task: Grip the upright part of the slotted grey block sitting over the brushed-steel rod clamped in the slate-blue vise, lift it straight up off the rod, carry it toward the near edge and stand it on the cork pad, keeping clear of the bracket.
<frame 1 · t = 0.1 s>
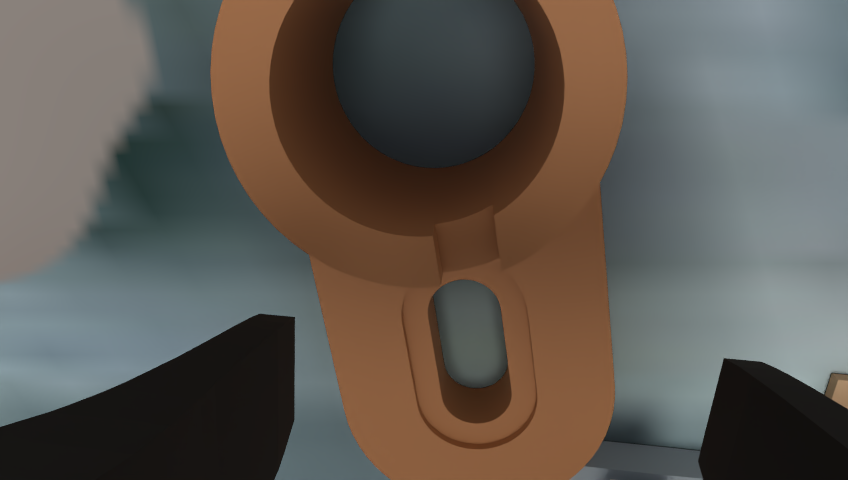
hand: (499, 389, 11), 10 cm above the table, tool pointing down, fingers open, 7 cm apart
bracket: (456, 219, 21), on the table
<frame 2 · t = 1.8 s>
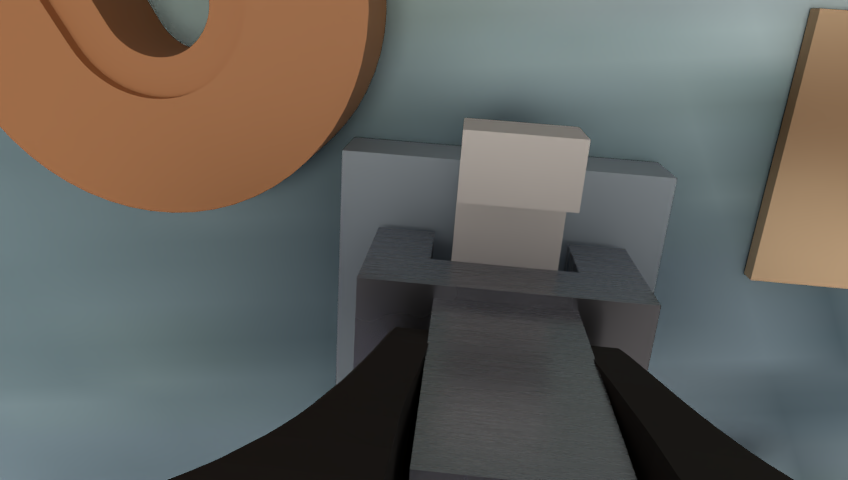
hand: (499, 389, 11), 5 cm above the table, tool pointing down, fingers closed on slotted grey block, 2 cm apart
slotted grey block: (493, 302, 14), point 2 cm above the table, touching gripper, vise
vise: (485, 324, 17), on the table
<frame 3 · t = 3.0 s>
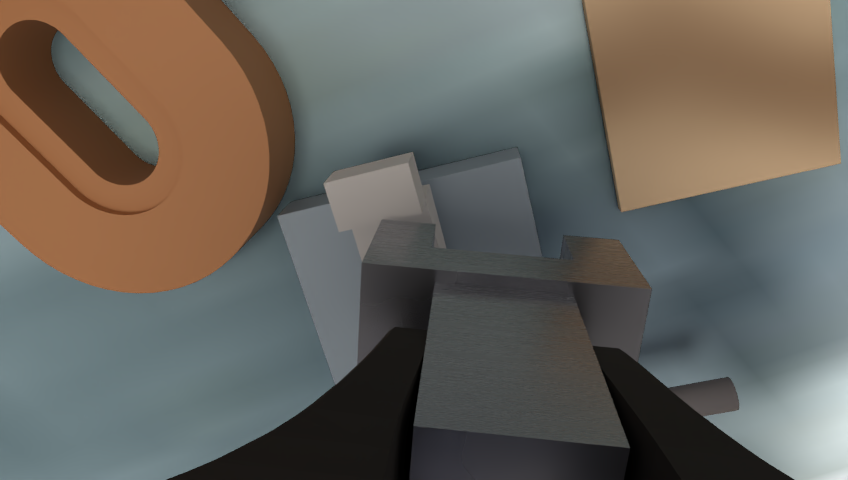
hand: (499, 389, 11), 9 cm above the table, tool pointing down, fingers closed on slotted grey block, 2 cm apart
bracket: (40, 1, 19), on the table
slotted grey block: (492, 292, 15), point 5 cm above the table, touching gripper
pad: (710, 81, 18), on the table
vise: (438, 309, 21), on the table
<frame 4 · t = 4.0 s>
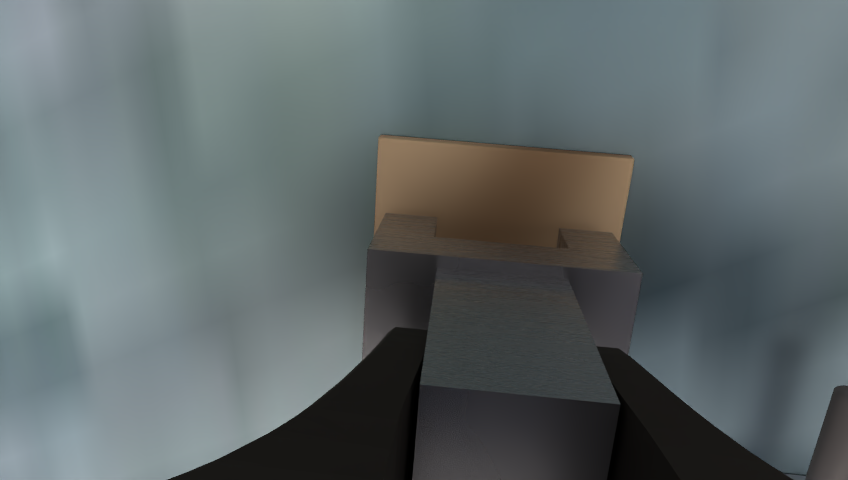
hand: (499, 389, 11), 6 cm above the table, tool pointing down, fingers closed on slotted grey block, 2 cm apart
slotted grey block: (491, 283, 16), point 1 cm above the table, touching gripper
pad: (491, 261, 17), on the table
when the fingers open (5 cm above the table, at t = 4.5 s): slotted grey block stays where it is, resting on pad.
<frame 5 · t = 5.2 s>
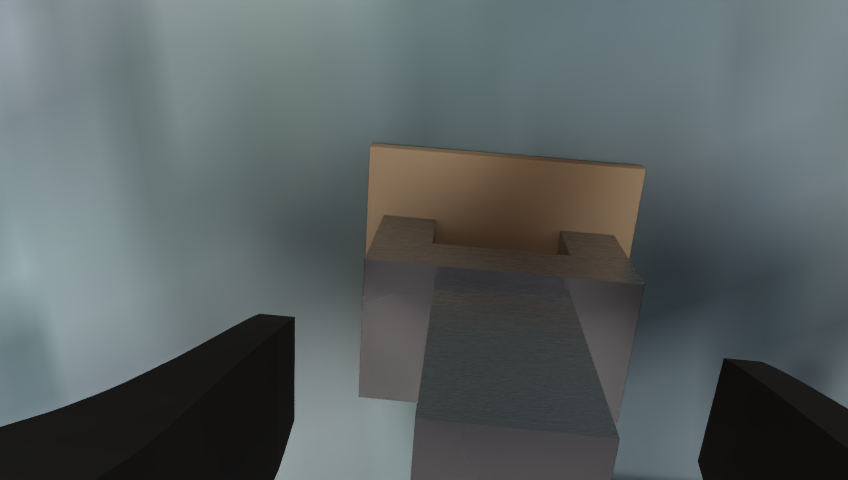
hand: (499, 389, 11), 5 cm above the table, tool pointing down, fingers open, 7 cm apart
slotted grey block: (491, 285, 15), resting on pad
pad: (491, 277, 16), on the table
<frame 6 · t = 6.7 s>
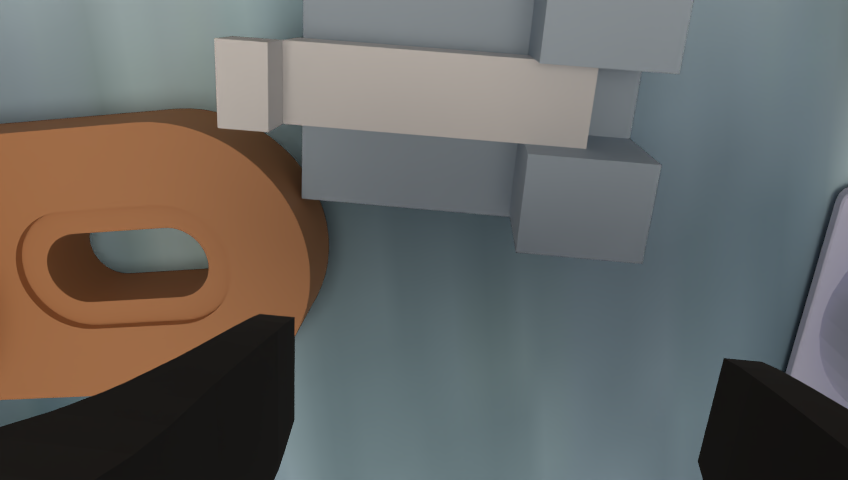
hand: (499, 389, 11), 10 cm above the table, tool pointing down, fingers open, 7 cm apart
bracket: (69, 242, 22), on the table
vise: (468, 82, 19), on the table
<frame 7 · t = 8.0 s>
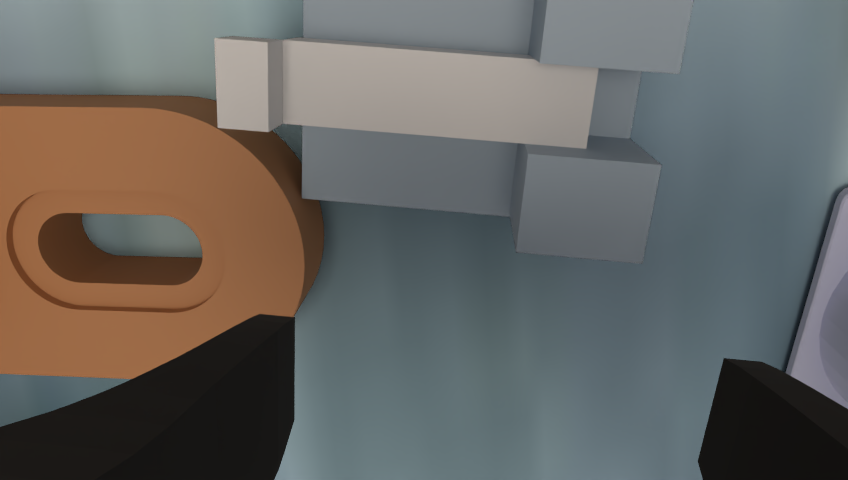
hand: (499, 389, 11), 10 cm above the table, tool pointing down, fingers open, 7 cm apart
bracket: (60, 219, 22), on the table
vise: (468, 82, 19), on the table
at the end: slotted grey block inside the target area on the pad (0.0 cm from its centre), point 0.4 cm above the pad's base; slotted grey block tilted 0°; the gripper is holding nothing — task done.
